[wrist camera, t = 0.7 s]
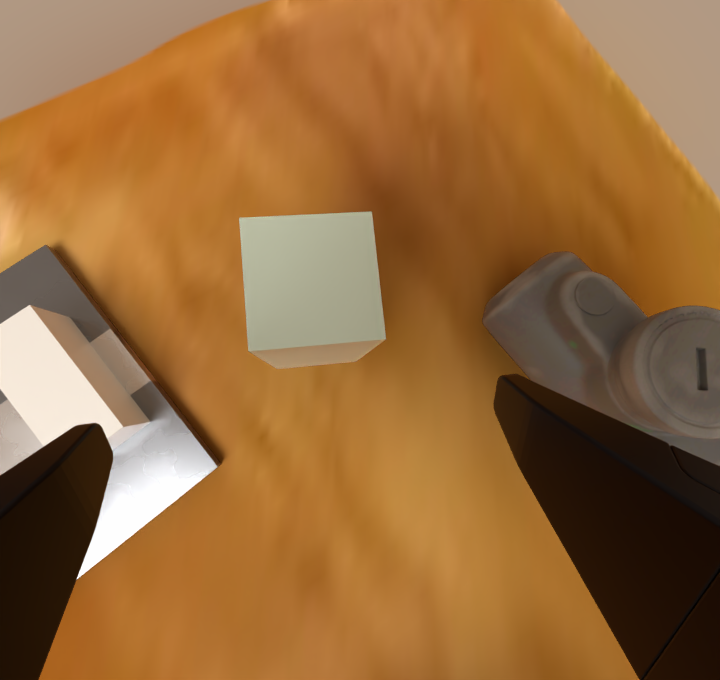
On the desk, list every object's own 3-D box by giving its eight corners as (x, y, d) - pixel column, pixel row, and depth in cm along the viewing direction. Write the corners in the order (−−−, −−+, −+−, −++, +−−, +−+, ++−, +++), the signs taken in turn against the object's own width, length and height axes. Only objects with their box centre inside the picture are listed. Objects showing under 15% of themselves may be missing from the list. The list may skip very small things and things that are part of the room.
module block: (355, 361, 23) (386, 339, 13) (277, 369, 23) (248, 351, 13) (348, 286, 24) (371, 211, 14) (271, 291, 23) (239, 217, 13)
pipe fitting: (673, 407, 25) (885, 406, 14) (575, 489, 24) (724, 548, 14) (543, 260, 26) (650, 168, 16) (448, 332, 26) (498, 283, 16)
